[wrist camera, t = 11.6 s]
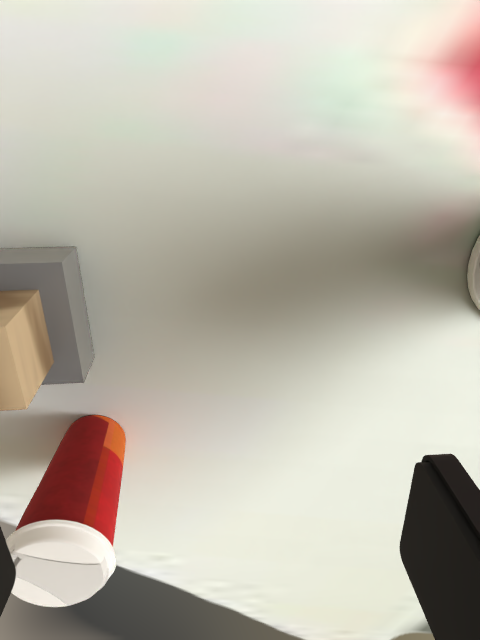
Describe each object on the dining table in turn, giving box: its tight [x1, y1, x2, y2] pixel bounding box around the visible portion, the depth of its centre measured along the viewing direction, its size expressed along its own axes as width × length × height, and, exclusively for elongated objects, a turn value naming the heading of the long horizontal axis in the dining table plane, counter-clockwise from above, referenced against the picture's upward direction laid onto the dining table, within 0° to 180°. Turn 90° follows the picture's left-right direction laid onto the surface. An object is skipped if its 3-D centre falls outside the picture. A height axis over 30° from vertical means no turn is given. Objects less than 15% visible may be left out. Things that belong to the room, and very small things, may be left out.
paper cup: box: [6, 415, 126, 607], centre depth 35 cm, size 8×8×14 cm
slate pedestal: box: [0, 247, 94, 385], centre depth 34 cm, size 10×10×4 cm
